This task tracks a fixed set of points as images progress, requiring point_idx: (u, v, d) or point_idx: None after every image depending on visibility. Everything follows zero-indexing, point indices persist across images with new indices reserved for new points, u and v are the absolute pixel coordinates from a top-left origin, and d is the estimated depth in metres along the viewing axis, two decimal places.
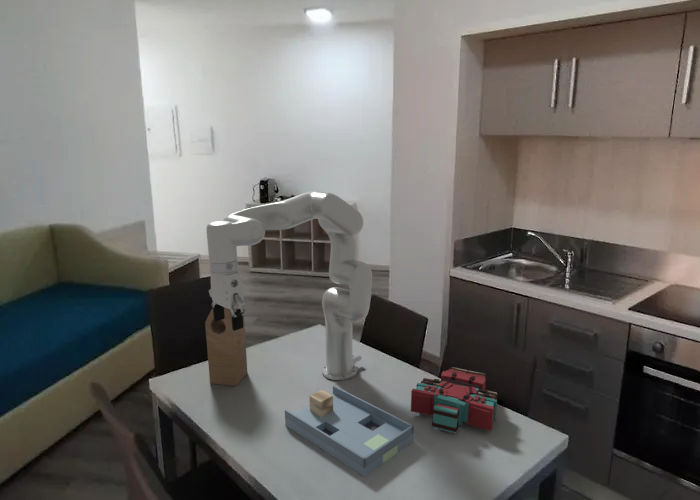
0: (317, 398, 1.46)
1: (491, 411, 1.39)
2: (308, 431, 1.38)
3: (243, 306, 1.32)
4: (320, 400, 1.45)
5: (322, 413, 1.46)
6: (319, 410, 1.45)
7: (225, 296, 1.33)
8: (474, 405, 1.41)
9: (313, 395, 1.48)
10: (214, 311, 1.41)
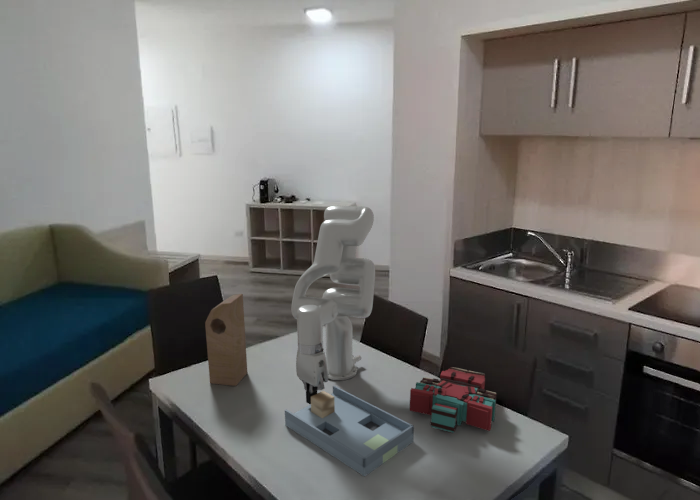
0: (318, 399, 1.46)
1: (489, 411, 1.39)
2: (308, 431, 1.38)
3: None
4: (321, 401, 1.44)
5: (323, 414, 1.45)
6: (320, 411, 1.45)
7: (312, 375, 1.45)
8: (472, 405, 1.42)
9: (314, 396, 1.47)
10: (307, 394, 1.50)
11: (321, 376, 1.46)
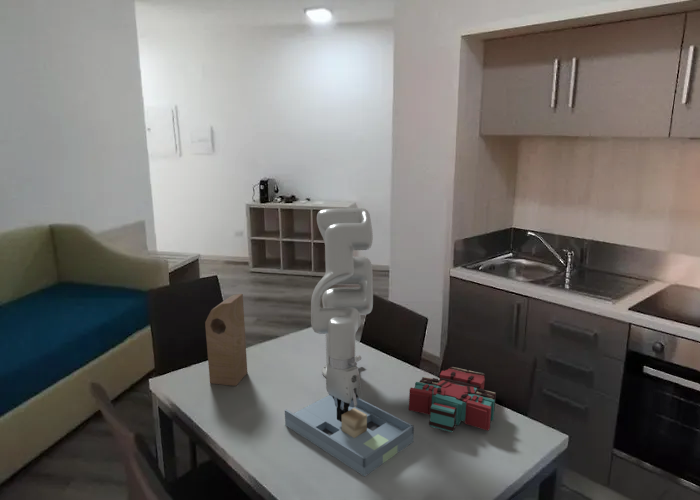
0: (350, 417, 1.36)
1: (488, 411, 1.39)
2: (308, 431, 1.38)
3: None
4: (353, 420, 1.35)
5: (355, 434, 1.36)
6: (352, 430, 1.35)
7: (345, 391, 1.36)
8: (471, 404, 1.42)
9: (345, 414, 1.38)
10: (338, 410, 1.40)
11: (354, 392, 1.37)
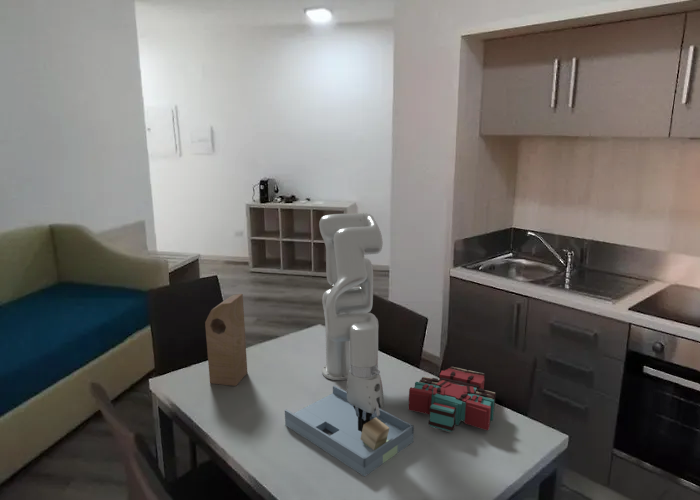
0: (372, 429, 1.30)
1: (488, 410, 1.39)
2: (308, 431, 1.38)
3: None
4: (376, 433, 1.29)
5: (376, 446, 1.30)
6: (373, 443, 1.30)
7: (367, 400, 1.29)
8: (471, 404, 1.42)
9: (367, 424, 1.31)
10: (359, 421, 1.34)
11: (376, 402, 1.31)
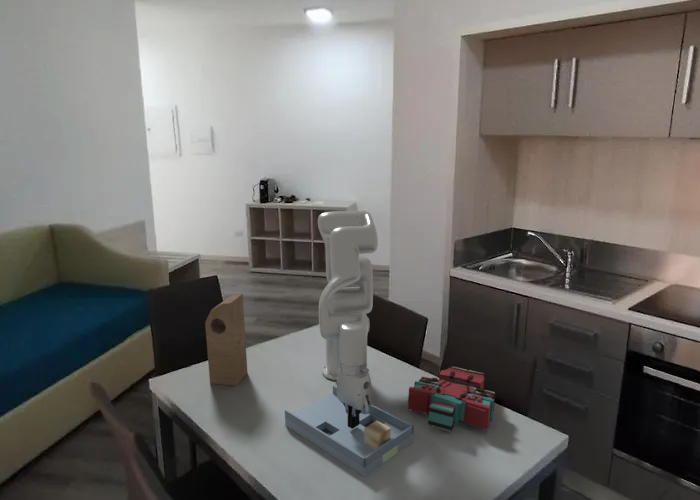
0: (374, 431, 1.30)
1: (487, 410, 1.39)
2: (308, 431, 1.38)
3: None
4: (377, 434, 1.29)
5: None
6: (376, 445, 1.29)
7: (356, 398, 1.33)
8: (470, 404, 1.42)
9: (368, 427, 1.32)
10: (349, 417, 1.38)
11: (365, 399, 1.34)
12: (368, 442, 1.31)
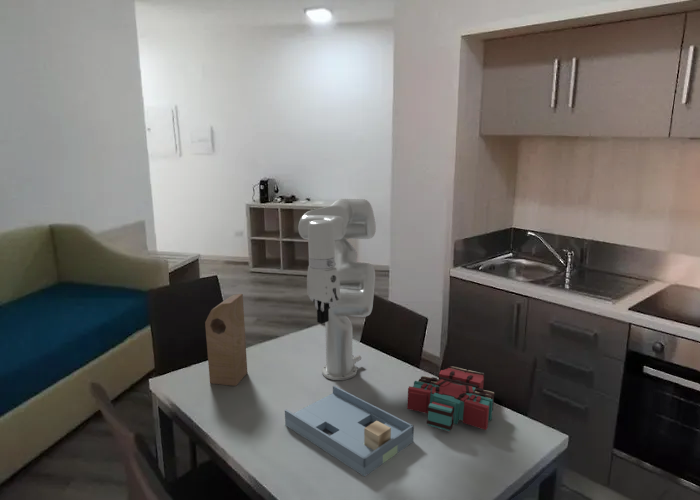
0: (374, 431, 1.30)
1: (486, 410, 1.39)
2: (308, 431, 1.38)
3: (333, 306, 1.43)
4: (377, 434, 1.29)
5: None
6: (376, 445, 1.29)
7: (324, 291, 1.41)
8: (469, 404, 1.42)
9: (368, 427, 1.32)
10: (318, 313, 1.46)
11: (333, 292, 1.42)
12: (368, 442, 1.31)
